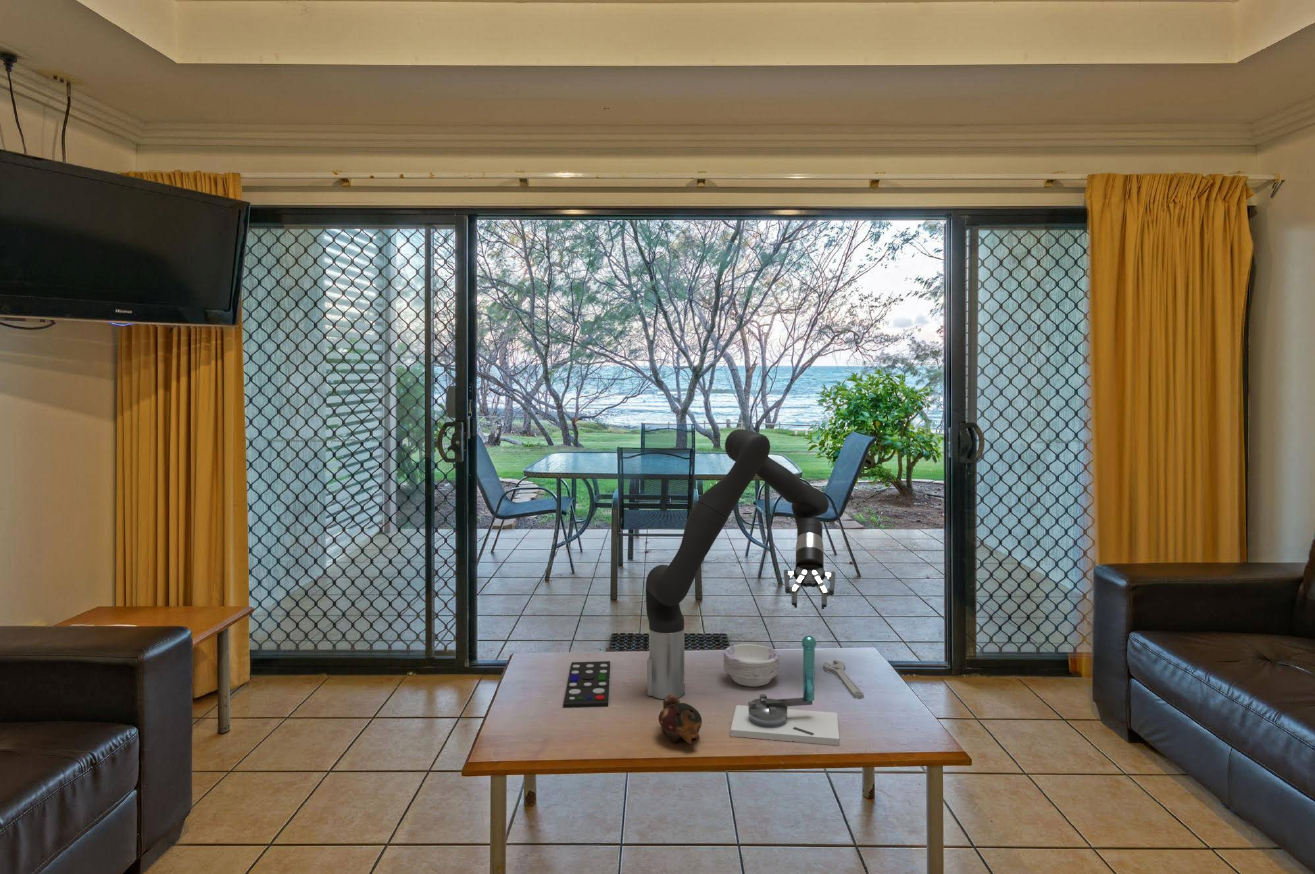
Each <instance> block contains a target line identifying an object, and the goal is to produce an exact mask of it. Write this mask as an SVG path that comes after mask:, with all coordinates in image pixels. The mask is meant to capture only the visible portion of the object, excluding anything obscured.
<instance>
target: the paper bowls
mask: <svg viewBox="0 0 1315 874" xmlns="http://www.w3.org/2000/svg"><path fill="white" fill-rule="evenodd" d="M780 656H781V655H780V653H779V651H777V650H776V649H775V648H772V647H770V646H766V645H762V644H761V645H760V644H755V643H741V644H734V645H731V646H727V648H725V649H724V651H723V670H724V672H725V673H726V674H727V675H729V676H730V677H731V679H732V681H734V682H735V683H736V684H738V685H740V686H744V687H753V688H754V687H762V686H766V685H768V684H769V683H770V682H771V680H772V678H775V677H776V676H778V674H780V660H781V657H780Z"/></svg>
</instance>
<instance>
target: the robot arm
mask: <svg viewBox="0 0 1315 874" xmlns="http://www.w3.org/2000/svg"><path fill="white" fill-rule="evenodd" d="M724 450H725V453H726V455H727V457H728V458H729V459H731V460H732V461H734V463H733V466H732V467H731V468H730V470H729V471H728V473H726V474H725V476H724V477H723V478H721V479H720V480H719V481H718V482H716V483H715V484H714V485H712V486H711V487H710V488H709V489H707V490H706V491H705V492H703V494H701V495H700V497H699V498H698V500H697V502H696V503H695V505H694V506H693V508H692V510H691V512H690V513H689V515H688V518H687V519H686V522H685V527H684V529H683V534H682V538H681V539H682V540H681V543H680V545H679V548H678V550H677V552H676V554H675V556H674V557H673V559H672V560H671V561H670V563H669V565H667V564H659V565H656V566H654V567H653V568H652V569H650V571H649V572H648V573H647V577H646V581H645V604H646V606H645V607H646V609H645V610H646V615H647V617H646V618H647V620H648V638H649V640H648V643H649V644H648V646H649V647H648V649H649V650H648V651H649V652H648V654H649V655H648V658H647V660H646V663H647V665H646V666H647V669H646V670H647V671H646V672H647V673H646V674H647V677H646V678H647V696H650V697H653V698H655V699H660V700H664V699H665V698H666V696H668V695H674V696H676V697H677V698H678V699H680V697H681V698H682V696H684V694H685V691H686V690H685V687H686V685H685V684H686V683H685V681H686V680H685V674H686V673H685V671H686V670H685V667H686V666H685V617H684V615H683V613H682V610H681V606H680V603H681V602H683V600H684V599H685V598H686V597H687V595H688V593H689V591H690V589H691V587H692V584H693V582H694V581H695V580H694V579H695V578H696V576H697V574H698V571H699V569H700V566H701V565H702V564H703V562H704V560H705V558H706V556H707V554H708V553H709V552H710V550H711V548H712V546H713V544H714V542H715V541H716V539H717V537H718V536H719V534H720V533H721V532H722V530H723V528H724V526H725V525H726V523H727V521H728V519H729V518H730V516H731V513H732V512H733V510H734V509H735V507H736V505H737V504H738V502H739V501H740V499H741V498H742V496H743V494H744V492H745V491H746V489H747V488H748V486H749V485H750V483H752V481H753V479H754V478H755V476H758V477H759V478H760V480H762V481H763V482H764V483H766V484H767V485H768V486H769V487H770V488H772V489H773V490H774V491H775V492H776V493H777V494H778V495H779V496H780V497H782V498H783V499H784V500H785V502H788V503H790V504H791V511H792V515H793V517H794V521H795V525H796V529H797V530H796V532H797V533H796V544H795V568H794V569H793V570H791V571H789V570H788V569H784V570H783V579H784V580H783V581H784V591H785V594H790V595H791V606H794V607H793V608H794V609H795V608H796V609H797V608H798V593H799V591H801V590H802V588H803V587H805V588H809V587H810V588H816V589H817V590H818V592H819V593H820V597H821V610H825V608H827V606H828V596H834V594H835V588H836V587H835V585H836V584H835V583H836V572H835V571H831V572H826V571H825V569H824V566H825V565H824V558H825V557H824V556H825V555H824V554H825V553H824V541H823V524H822V523H821V521H820V520H819V519H817V518H815V517H818V516H821V515H824V514H826V513H827V512H828V510H829V507H830V503H829V499H828V497H827V496H826V495H825V493H824V492H822V491H821V490H820V489H818V488H816V487H814V486H812V485H809V484H808V483H805V482H803V481H802V480H801V479H800V478H799V477H798V476H796V474H794V473H793V472H792V471H791V470H790V469H788V468H787V467H785V466H784V465H782V464H780V463H779V462H777V461H776V460H775V459H772V458H771V457H770V456H769V455H770V451H771V442H770V440H769V438H768V437H767V436H766V435H765V434H762V433H759V432H757V431H752V430H748V429H743V428H740V429H735V430H733V431H731V432H730V433H729V434H728V435H727V437H726V438H725V442H724ZM792 577H794V578H795V579H796V581H795V582H794V584H793V586H790V580H792ZM825 578H826V580H827V581H828V582H829V588H826V586H825V584H824V582H823V581H824V579H825Z"/></svg>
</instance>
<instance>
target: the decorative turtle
mask: <svg viewBox="0 0 1315 874" xmlns="http://www.w3.org/2000/svg"><path fill="white" fill-rule="evenodd" d="M679 699H680V698H677V697H676V696H674V695H668V696H666V698H665V699H663V701H662V702H663V705H662V706H663V707H662V708H663V709H662V710H660V712H659V714H658V722H659V725H660V727H661V730H662V733H663V734H664V735H665V736H666V737H667V738H668V740H669V742H670V743H671V744H676V743H678V741H679V740H680V739H682V740H684V741H685V742H686V743H687V744H689V745H695V744H697V743H698V742H699V739H700V734H699V732H700V729H701V727H702V724H703V718H702V716H701V714H700V712H699V711H698V710H697V709H696V708H695V707H694V706H692V705H691V704H688V703H685V702H680V700H679Z"/></svg>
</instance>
